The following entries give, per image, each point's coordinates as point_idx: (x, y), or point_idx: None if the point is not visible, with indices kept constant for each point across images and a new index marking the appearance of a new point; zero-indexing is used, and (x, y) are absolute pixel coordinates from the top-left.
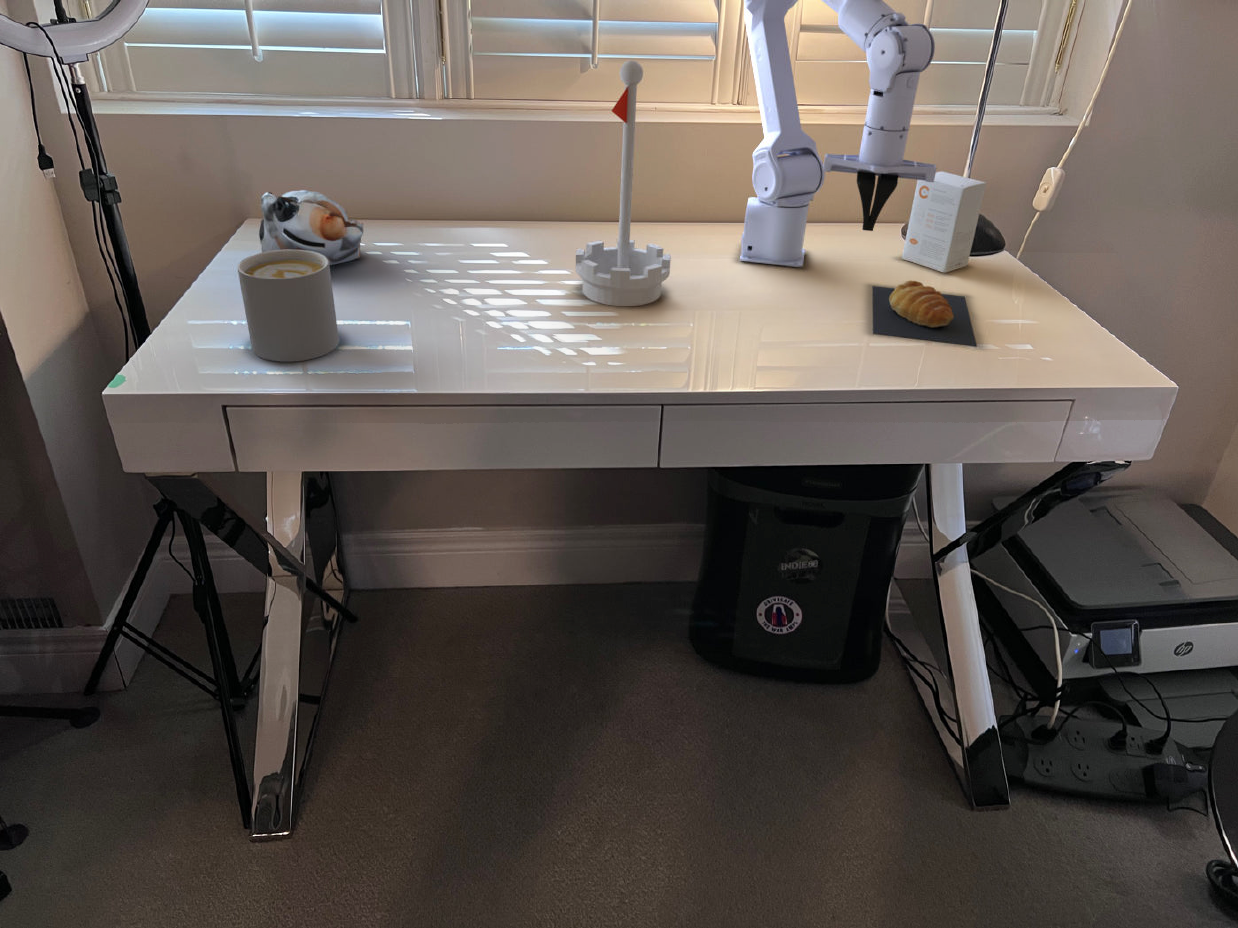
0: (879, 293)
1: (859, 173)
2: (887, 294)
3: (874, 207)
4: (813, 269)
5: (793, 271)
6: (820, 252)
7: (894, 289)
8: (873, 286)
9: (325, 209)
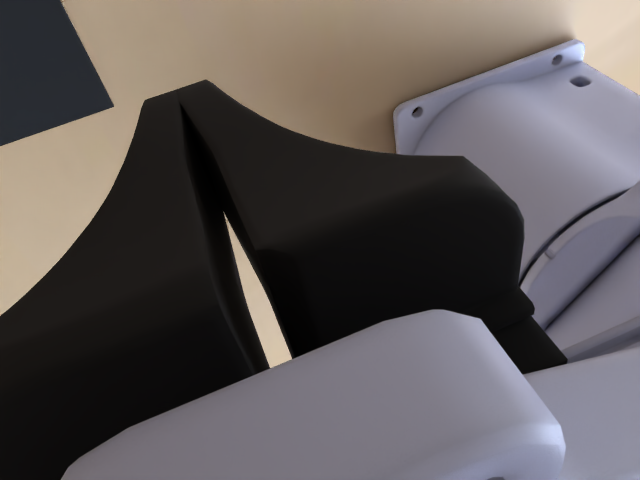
0: (45, 39)
1: (536, 357)
2: (9, 50)
3: (179, 168)
4: (354, 127)
5: (411, 65)
6: None
7: (19, 125)
8: (107, 101)
9: None
